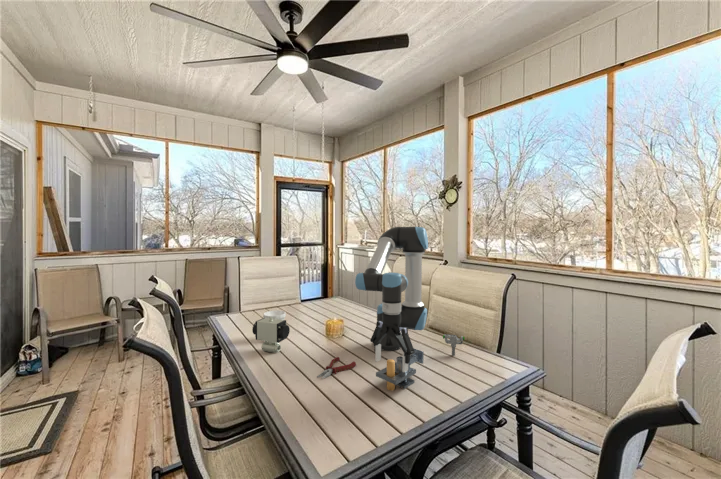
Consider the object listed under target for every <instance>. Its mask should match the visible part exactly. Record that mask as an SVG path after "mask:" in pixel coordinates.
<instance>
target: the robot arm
mask: <svg viewBox="0 0 721 479" xmlns="http://www.w3.org/2000/svg"><path fill="white" fill-rule="evenodd" d="M376 245H377V246H376V248H375V249H374V253H373V255H372V257H371V258H370V261H369V263H368V265H367V266H366V269H365V270H364V272H359V273H357V274H356V276H355V279H354V282H355V283H354V284H355V287H356V289H357V290H359V291H367V292H381V294H382V299H381V300H382V301H381V302H382V303H380V304H378V306H377V307H376V308H377V309H376V322H375V328H374V330H373V334H372V336H371V338H370V343H372V344H373V348H374V353H375V354H374V355H375V357H374V358H375V360H374V361H375V362H380V361H381V360H382V351H387V352H389V351H390V352H391V351H397V350H399V349H401V350H402V352H403V354H402V356H403V369H402V372H406V371H408V363H410V355H412V354H414V353H415V351H414V349H415V348H414V345H413V343H412V340H411V338H410V334H409V330H411V331H423V330H424V329H425V327H426V323H427V320H428V319H427V318H428V309H427V308H426V307H425V304H424V302H423V301H422V286H423V285H422V284H423V282H422V281H423V280H422V278H423V277H422V276H423V275H422V274H423V271H422V270H423V269H422V268H423V267H422V266H423V255H425V253H426V250H428V249H429V238H428V232H427V229H426V228H425V227H422V226H394V227H391V228H389V229H387V230H385V232H383V233H382V234H381V235H380V237H379V238H378V239H377V243H376ZM395 249H400V250H402V253H403V254H404V257H405V258H404V259H405V264H404V266H405V267H404V268H405V269H404V271H405V272H404V274H405V275H404V274H402V273H399V272H385V273H383V271H384V269H385V268H386V266H387V263H388V261H389V258H390V256H391V253H392V252H394V250H395ZM402 292H404V301H403V302H402Z"/></svg>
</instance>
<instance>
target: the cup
mask: <svg viewBox="0 0 721 479" xmlns="http://www.w3.org/2000/svg"><path fill="white" fill-rule="evenodd" d="M286 313H287V312H286V311H284V310H279V309H278V310H277V309H275V310H268V311H265V312H264V313H263V314H262V315H263V316H262V317H263V318H270V317H272V319H280V320H285V318H286V315H287V314H286Z"/></svg>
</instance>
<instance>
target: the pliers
mask: <svg viewBox="0 0 721 479" xmlns="http://www.w3.org/2000/svg"><path fill="white" fill-rule="evenodd" d="M339 361H340V357H339V356H336V357H334V358H333V359H331V361H330V363H329V365H327V366H326V367H325V370H324V371H322V372H321V373H320V374H318V375H317V376H316V378H321V377H322V378H321V379H322V380H323V379H325V378H328V377H330V376H331V375H332V374H334V375H337V374H338V373H341V372H344V371H348V370H352V369H353V368H355V367H356V366H357V362H356V361H352V362H350V363H349V364H348V363H347V364H345V365H340V366H336V367H335V366H334V365H335V364H336V363H338V362H339Z"/></svg>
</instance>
